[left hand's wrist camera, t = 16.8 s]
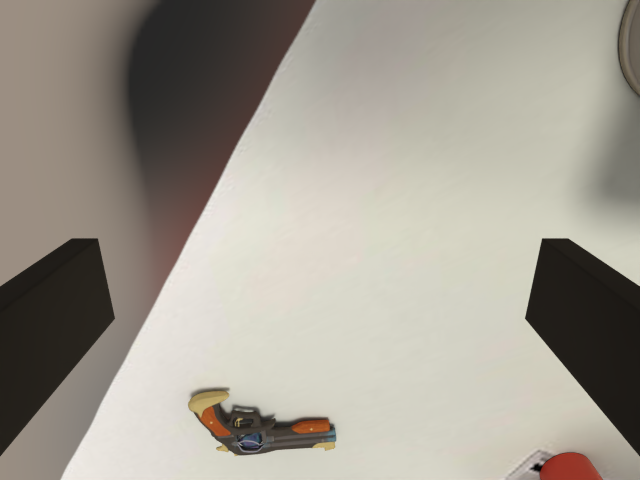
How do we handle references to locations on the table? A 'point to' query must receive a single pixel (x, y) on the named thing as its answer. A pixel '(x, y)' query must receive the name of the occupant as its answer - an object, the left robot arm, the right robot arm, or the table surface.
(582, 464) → the canister
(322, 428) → the toy gun
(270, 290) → the table surface
